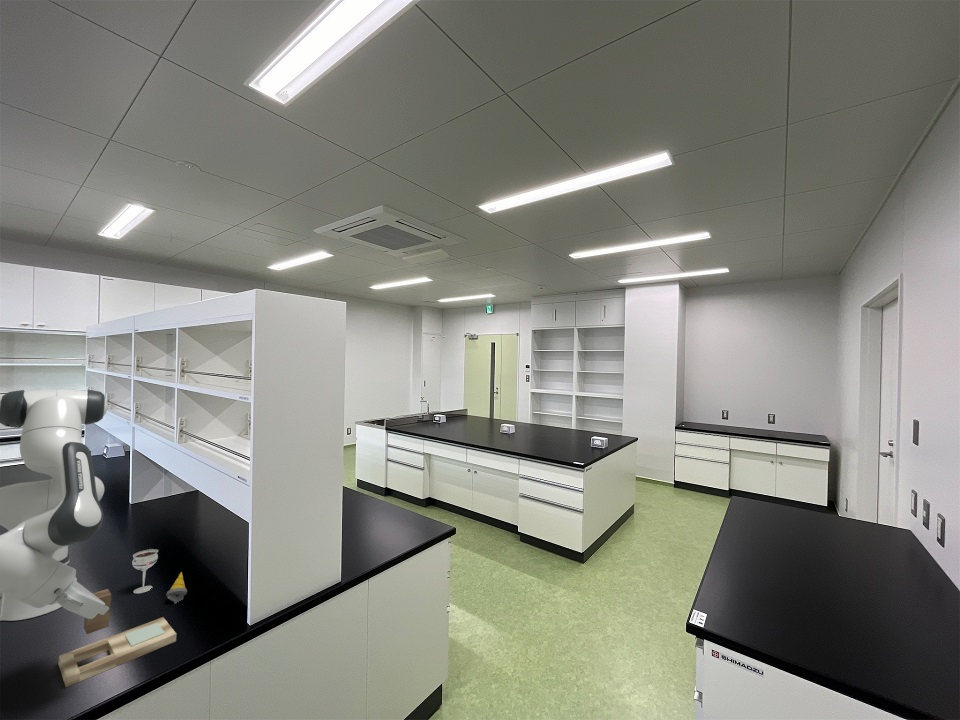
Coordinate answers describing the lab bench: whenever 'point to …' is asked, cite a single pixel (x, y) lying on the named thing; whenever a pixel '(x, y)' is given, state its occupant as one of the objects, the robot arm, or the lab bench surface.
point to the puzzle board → (116, 650)
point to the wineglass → (144, 565)
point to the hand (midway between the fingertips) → (101, 607)
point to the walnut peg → (99, 619)
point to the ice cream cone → (177, 590)
